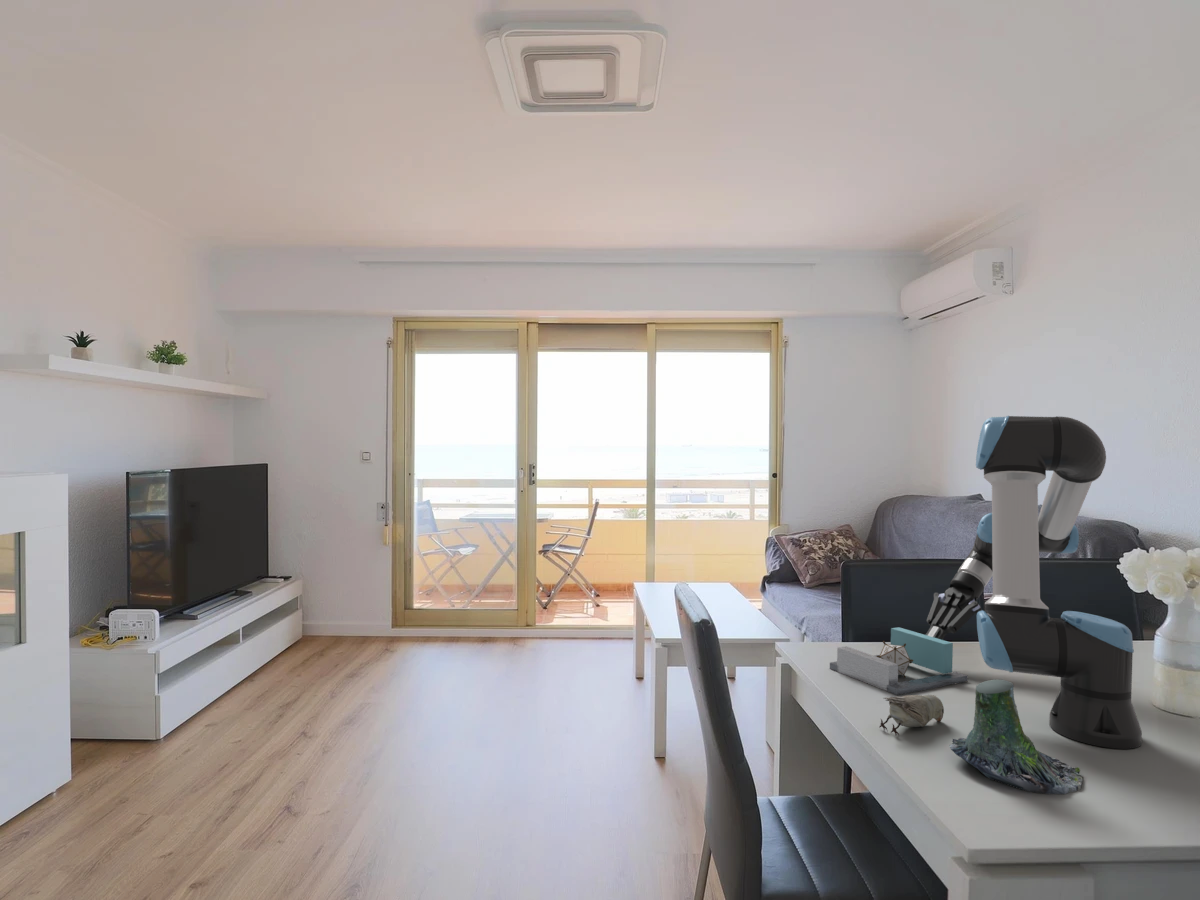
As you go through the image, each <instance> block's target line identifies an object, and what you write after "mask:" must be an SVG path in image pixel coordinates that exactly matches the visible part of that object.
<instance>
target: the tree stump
mask: <svg viewBox="0 0 1200 900" xmlns="http://www.w3.org/2000/svg"><path fill="white" fill-rule="evenodd" d="M974 702H975V706H974V717H973V725H972V726H973V728H972V729H971V730H970V731H969V732H968V734H967V737H966V738H963V737H959V738H958V739H956V738H952V741H951V742H952V743H950V744H949V748H950V750H951V751H952V752H953V753H954V754H955V755H956V756H957V757H959V758H961V759H962V760H964V761H965V762H966V763H968V764H969V765H970V766H973V767H974V768H975V769H977V770H978V771H979V772H980V773H981V772H982V773H981V774H982V775H984V777H986V778H987V777H988V778H987V779H989V778H990V780H992V779H993V781H995V780H996V782H998V781H999V783H1001V782H1002V784H1004V783H1005V785H1007V784H1008V786H1010V785H1011V786H1010V787H1013V786H1014V788H1016V787H1017V789H1020V790H1023V791H1025V790H1026V791H1025V792H1030V791H1031V793H1037V794H1041V795H1043V794H1045V795H1046V794H1048V795H1049V794H1050V795H1066V794H1068V793H1070V792H1077V791H1081V788H1082V784H1083V781H1084V777H1083V776H1082V775H1081V773H1080V772H1081V769H1080V767H1079V766H1073V767H1072V765H1069V764H1067V763H1065V762H1062V761H1060V759H1057V758H1055V757H1052V756H1050V755H1047V754H1045V753H1042V752H1041V751H1039V750H1037V748H1036V746H1035V744H1034V742H1033V741H1032V740H1031V739H1030V737H1028V736H1027V734H1025V732H1024V730H1023V726H1022V724H1021V719H1020V717H1019V712H1018V708H1017V704H1016V700H1015V694H1014V684H1013V682H1011V681H1008V680H1005V679H990V680H984V681H982V682H979V683H977V685H976V686H975V701H974Z"/></svg>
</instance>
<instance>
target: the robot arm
mask: <svg viewBox="0 0 1200 900" xmlns="http://www.w3.org/2000/svg"><path fill="white" fill-rule="evenodd" d="M980 429H981V430H980V433H979V438H978V444H977V449H976V457H975V458H976V459H975V461H976V462H975V467H976V468H977V469H978V470H981V471H982V470H983V478H984V479H985V480H986V481H987V482H988V483H989V484H990V485H991V512H989V513H987V514H984V515H983V516H982V517H981V518H980V521H979V522H978V526H977V527H976V535H975V539H974V543H973V546H972V548H971V550H970V552H969V553H968V555H967V557H966V558H965V560H964V561H963V563H962V564H961V565H960V567H959V568H958V570H957V572H956V573H955V575H954V576H953V577H952V579H951V581H950V582H949V586H948V588H947V589H946V590H945V591H944V593H939V592H934V593H933V602H932V604H931V607H930V610H929V612H928V615H927V618H926V622H927V624H928V625H929V626H930V627H929V628H928V630H927V632H926V633H925V635H927V636H931V637H934V638H938V639H941V640H944V638H945V637H946V635H947V634H949V633H952V635H953V634H956V633H957V632H958V631H960V630H961V628H962V627H963V626H964V625H965V624H967V622H968V621H969V620H970V619H971V618H972V617H973V616H974V615H975V614H976V630H977V636H978V637H977V638H978V643H979V648H980V653H981V656H982V660H983V661H984V663H985V664H986V665H987V666H988V667H989V668H990V669H995V670H999V671H1005V672H1006V671H1007V672H1009V673H1021V674H1029V675H1037V676H1045V677H1056V678H1060V687H1059V688H1060V689H1059V691H1058V693H1057V695H1056V698H1055V700H1054V703H1053V704H1052V708H1051V710H1050V712H1049V718H1048V719H1049V721H1048V722H1049V724H1048V725H1049V727H1050V729H1052V730H1053V731H1055V732H1056V733H1058V734H1059V735H1061V736H1064V737H1066V738H1069V739H1071V740H1074V741H1076V742H1080V743H1083V744H1088V745H1092V746H1097V747H1101V748H1109V749H1119V750H1120V749H1123V750H1125V749H1127V750H1129V749H1135V748H1139V747H1141V745H1142V743H1143V732H1142V729H1141V725H1140V722H1139V720H1138V717H1137V714H1136V711H1135V708H1134V706H1133V705H1134V704H1133V702H1132V701H1133V700H1132V688H1133V687H1132V684H1133V653H1134V652H1135V651H1134V644H1133V643H1134V641H1133V633H1132V631H1131V629H1129V627H1128V626H1126V625H1125V624H1124V623H1121V622H1118V621H1117V620H1113V619H1111V618H1107V617H1103V616H1101V615H1096V614H1091V613H1086V612H1081V611H1075V610H1074V611H1073V610H1066V611H1063V612H1062V614H1061V615H1060V618H1058V617H1057V618H1056V617H1050V608H1049V607H1048V606H1047V605H1046V604H1045V602H1044V601H1042V599H1041V580H1040V577H1041V576H1040V575H1041V574H1040V553H1052V554H1056V555H1057V554H1058V555H1059V554H1074V553H1075V552H1077V550H1078V549H1079V548H1078V547H1079V543H1080V542H1079V541H1080V539H1079V538H1080V535H1079V529H1078V527H1077V526H1076V525H1075V523H1076V522H1077V518H1078V516H1079V513H1080V511H1081V509H1082V507H1083V504H1084V503H1085V502H1084V501H1085V500H1086V498H1087V495H1088V493H1089V490H1090V488H1091V485H1092V483H1093V482H1094V481H1097V479H1099V478H1100V477H1101V475H1102V474H1103V472H1104V469H1105V467H1106V461H1107V454H1106V453H1107V452H1106V451H1107V450H1106V449H1105V445H1104V444H1103V441H1102V439H1101V438H1100V436H1099V435H1098V434H1097V432H1096V431H1094V429H1092V428H1091V427H1090V426H1089V425H1087V424H1086V423H1085V422H1082V421H1080V420H1079V419H1075V418H1073V417H1068V416H1059V415H1058V416H1028V415H1027V416H1025V415H1024V416H1019V415H1017V416H1014V415H1011V416H1010V415H1006V416H994V417H993V416H991V417H988V418H987V419H985V420H984V422H983V423H982V426H981V428H980ZM1046 471H1052V473H1051V474H1052V475H1051V477H1050V480H1049V484H1048V487H1047V489H1046V493H1045V496H1044V499H1043V501H1042V504H1041V508H1040V511H1039V499H1038V498H1039V492H1038V491H1039V488H1038V487H1039V485H1040V484H1041V483H1043V481H1044V480H1046V478H1047V473H1046ZM991 579H992V595H991V597H989V599H987V600H986V601H985V602H984V610H983V609H982V607H981V605H980V604H979V603H978V601H977V600H978V599H979V598H980V596H981V595H982V594H983V592H984V590H985V587H987V585H988V583H989V582H990V580H991Z"/></svg>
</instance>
